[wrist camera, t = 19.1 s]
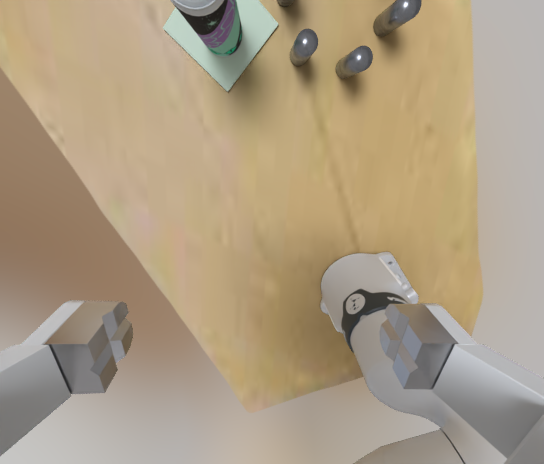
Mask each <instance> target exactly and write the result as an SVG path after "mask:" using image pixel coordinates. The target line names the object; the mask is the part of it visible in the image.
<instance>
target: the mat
mask: <svg viewBox="0 0 544 464" xmlns="http://www.w3.org/2000/svg"><path fill="white" fill-rule="evenodd" d="M236 1H237V6H238V11H239V16H240V21H241V26H242V42H241V45H240V47H239V49H238V50H237V52H236V53H234V54H233V55H231V56H229V57H220V56H217V55H215V54H213V53H212V52H211V51H210V50H209V49H208V48H207V46H206V45H205V44H204V43H203V41H202V40H201V39H200V37H199V36H198V35H197V34H196V32H195V31H194V30H193V28H192V27H191V26H190V25H189V23H188V22H187V21H186V19H185V18H184V17H183V16H182V14H181V13H180V12H179V10H178V9H177V8H176V7H175V9H174V11H173V12H172V14H171V16H170V17H169V19H168V20H167V22H166V24H165V25H164V27H163V29H164V30H165V31H166V32H167V33H168V34H169V35H170V36H171V37H172V38H173V39H174V40H175V41H176V42H177V43H178V44H179V45H180V46H182V47H183V48H184V49H185V50H186V51H187V52H188V53H189V54H190V55H191V56H192V57H193V58H194V59H195V60H196V61H197V62H198V63H199V64H200V65H201V66H202V67H203V68H204V69H205V70H206V71H207V72H208V73H209V74H210V75H211V76H212V77H213V78H214V79H215V80H216V81H217V82H218V83H219V84H220V85H221V86H222V87H223V88H224V89H225V90H226V91H227V92H228V91H229V90H230V88H231V87H232V86H233V84H234V83H235V82H236V80H237V79H238V78H239V76H240V75H241V74H242V73H243V71H244V70H245V69H246V67H247V66H248V65H249V63H250V62H251V61H252V59H253V58H254V57H255V55H256V54H257V53H258V51H259V50H260V49H261V47H262V46H263V45H264V43H265V42H266V41H267V39H268V38H269V37H270V35H271V34H272V33H273V31H274V30H275V29H276V27H277V26H278V23H277V22H276V20H275V19H274V18H273V17H272V16H271V15H270V13H269V12H268V11H267V10H266V9H265V7H264V6H263V5H262V4H261V3H260V1H259V0H236Z"/></svg>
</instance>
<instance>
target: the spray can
mask: <svg viewBox="0 0 544 464" xmlns="http://www.w3.org/2000/svg"><path fill="white" fill-rule="evenodd" d="M171 1H172V3H173V4H174V5H175V7H176V8H177V9H178V10H179V12H180V13H181V14H182V16H183V17H184V18H185V19H186V21H187V22H188V23H189V25H190V26H191V27H192V28H193V30H194V31H195V32H196V34H197V35H198V36H199V37H200V39H201V40H202V41H203V43H204V44H205V45H206V46H207V48H208V49H209V50H210V51H211V52H212V53H213V54H215V55H217V56H220V57H229V56H231V55H233V54H234V53H236V52H237V50H238V49H239V47H240V45H241V42H242V26H241V21H240V16H239V11H238V6H237V1H236V0H171Z"/></svg>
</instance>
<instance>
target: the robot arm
mask: <svg viewBox="0 0 544 464" xmlns="http://www.w3.org/2000/svg"><path fill="white" fill-rule="evenodd" d="M390 261H391V262H390ZM388 262H390V263H388ZM321 292H322V300H321V303H320V308H321V310H322V312H324V313H326V314H328V315H329V316H330V318H331V320H332V323H333V325H334V327H335V329H336V330H337V331H338V332H341V333H342V334H344V338H345V340H346V342H347V344H348V345H349V347H350V349H351V351H352V352H353V353H354V354H355V356H356V359H357V361H358V364H359V366H360V369H361V371H362V374H363V377H364V379H365V381H366V384H367V386H368V388H369V390H370V391H371V392H372V394H373V395H374V396H375V397H376V398H377V399H378V400H380V401H381V402H383V403H384V404H385V405H387V406H389V407H391V408H393V409H395V410H398V411H401V412H404V413H409V414H414V415H418V416H421V417H424V418H426V419H428V420H430V421H432V422H434V423H435V424H437V425H438V426H439V427H441V428H440V430H437V431H433V432H430V433H426V434H423V435H419V436H416V437H412V438H409V439H406V440H402V441H398V442H395V443H392V444H388V445H384V446H381V447H379V448H378V449H376V450H374V451H373V452H371V453H369V454H367V455H366V456H364V457H362V458H361V459H359V460H358V461H356V462H355V463H353V464H544V377H542V376H540V375H538V374H536V373H534V372H533V371H531V370H529V369H527V368H525V367H524V366H522V365H520V364H518V363H516V362H514V361H513V360H511V359H509V358H507V357H505V356H503V355H502V354H500V353H498V352H496V351H494V350H493V349H491V348H489V347H487V346H485V345H484V344H477V343H476V342H475V341H474V340H473V339H472V337H471V336H470V335H469V334H468V333H467V332H466V331H465V330H464V329H463V328H462V327H461V326H460V325H459V324H458V323H457V322H456V321H455V320H454V319H453V318H452V317H451V316H450V314H449V313H448V312H447V311H446V310H445V309H444V308H443V307H442V306H440V305H438V304H436V303H428V304H417V302H418V297H419V296H418V295H417V293H416V292H415V291H414V290H413V288H412V287H411V285H410V283H409V282H408V280H407V278H406V277H405V275H404V273H403V272H402V270H401V268H400V267H399V265H398V263H397V262H396V260H395V258H394V257H393V255H392V254H391V253H390V252H383V253H378V254H365V253H357V254H351V255H348V256H345V257H343V258H341V259H339V260H337V261H336V262H334V263H333V264H332V265H331V266H330V267H329V268H328V269H327V270H326V272H325V273H324V275H323V278H322V281H321ZM127 314H128V308H127V305H126V303H124V302H117V301H75V300H73V301H72V300H71V301H68V302H65V303H64V304H63V305H62V306H61V307H60V308H59V309H58V310H56V311H55V312H54V313H53V314H52V315H51V316H50V317H49V318H48V319H47V320H46V321H45V322H44V323H43V324H42V325H41V326H40V327H39V328H38V329H37V330H35V331H34V332H33V333H32V334H31V335H30V336H29V337H28V338H27V339H26V340H25V341H24V342H23V343H22V344H21V345H13V346H11V347H9V348H7V349H5V350H3V351H1V352H0V456H1V455H2V454H3V453H5V452H6V451H7V450H8V449H9V448H11V447H12V446H13V445H14V444H15V443H16V442H18V441H19V440H20V439H21V438H22V437H23V436H25V435H26V434H27V433H28V432H29V431H31V430H32V429H33V428H34V427H35V426H36V425H37V424H39V423H40V422H41V421H42V420H43V419H45V418H46V417H47V416H48V415H50V414H51V413H52V412H53V411H54V410H55V409H57V408H58V407H59V406H60V405H61V404H62V403H64V402H65V401H66V400H67V399H68V398H70V397H71V394H85V393H86V394H87V393H105V392H106V390H107V388H108V386H109V384H110V383H111V381H112V379H113V377H114V376H115V374H116V372H117V370H118V369H117V365H116V363H117V362H118V361H119V360H121V359H122V358H123V357H125V356H126V354H127V352H128V350H129V348H130V346H131V342H132V338H133V328H132V324H131V323H130V322H129V321H128V320H127V319H126V318H125V317H126V315H127Z"/></svg>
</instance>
